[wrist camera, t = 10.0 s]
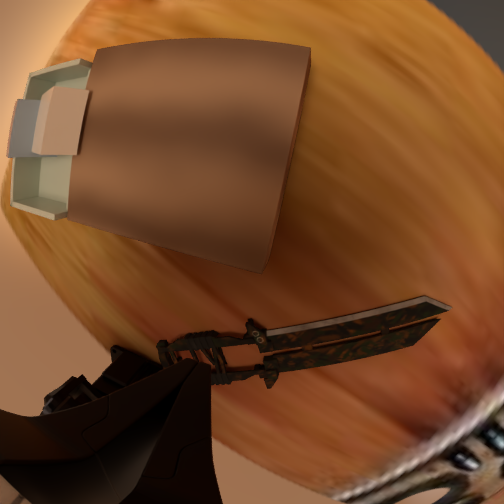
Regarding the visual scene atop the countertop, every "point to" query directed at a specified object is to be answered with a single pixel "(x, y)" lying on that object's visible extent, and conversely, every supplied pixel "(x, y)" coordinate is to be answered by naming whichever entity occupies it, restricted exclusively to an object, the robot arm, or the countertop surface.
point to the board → (190, 144)
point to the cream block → (59, 121)
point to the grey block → (23, 129)
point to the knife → (312, 341)
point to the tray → (47, 168)
